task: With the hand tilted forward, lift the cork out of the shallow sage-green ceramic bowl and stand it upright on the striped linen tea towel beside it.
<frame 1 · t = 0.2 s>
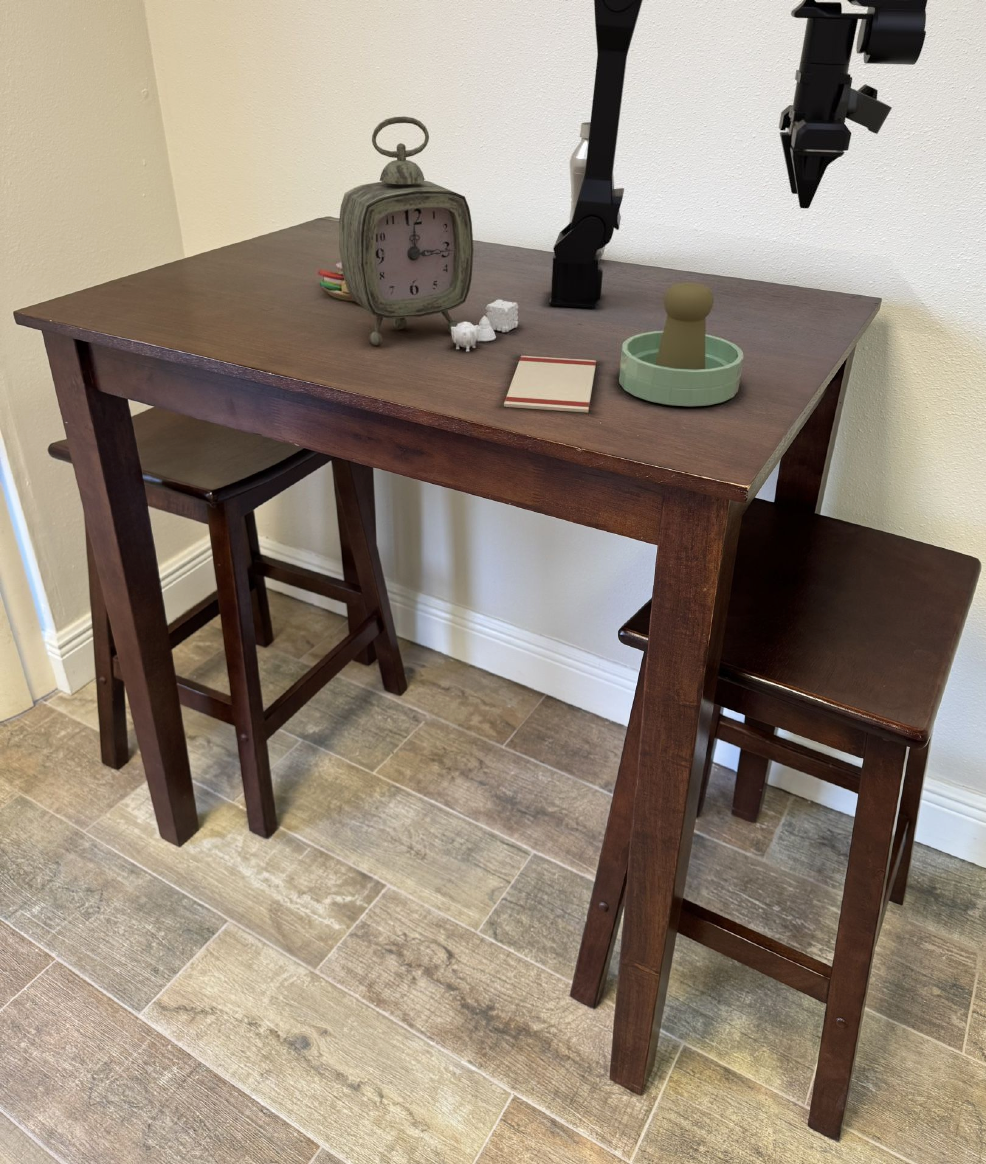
hand: (799, 200, 121), 15 cm above the table, tool pointing down, fingers open, 9 cm apart
metal bottle: (584, 262, 151), on the table
bowl: (677, 385, 106), on the table
cork: (677, 384, 106), resting on bowl
tabletop clock: (406, 334, 120), on the table
towel: (552, 383, 106), on the table
game pieces: (484, 339, 119), on the table
toy food set: (365, 292, 135), on the table
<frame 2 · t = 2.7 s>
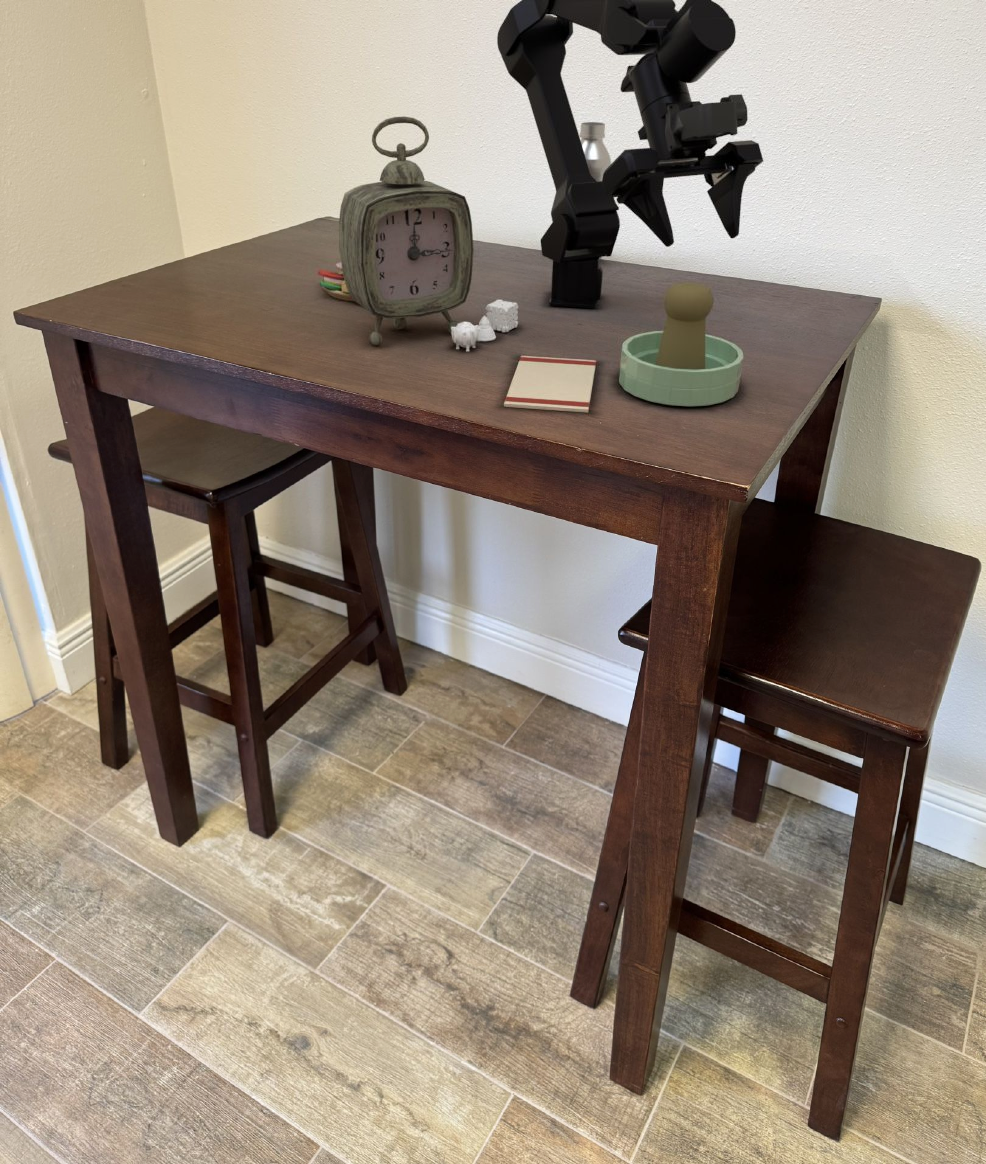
hand: (703, 240, 106), 14 cm above the table, tool tilted 35°, fingers open, 9 cm apart
nothing on the table moved.
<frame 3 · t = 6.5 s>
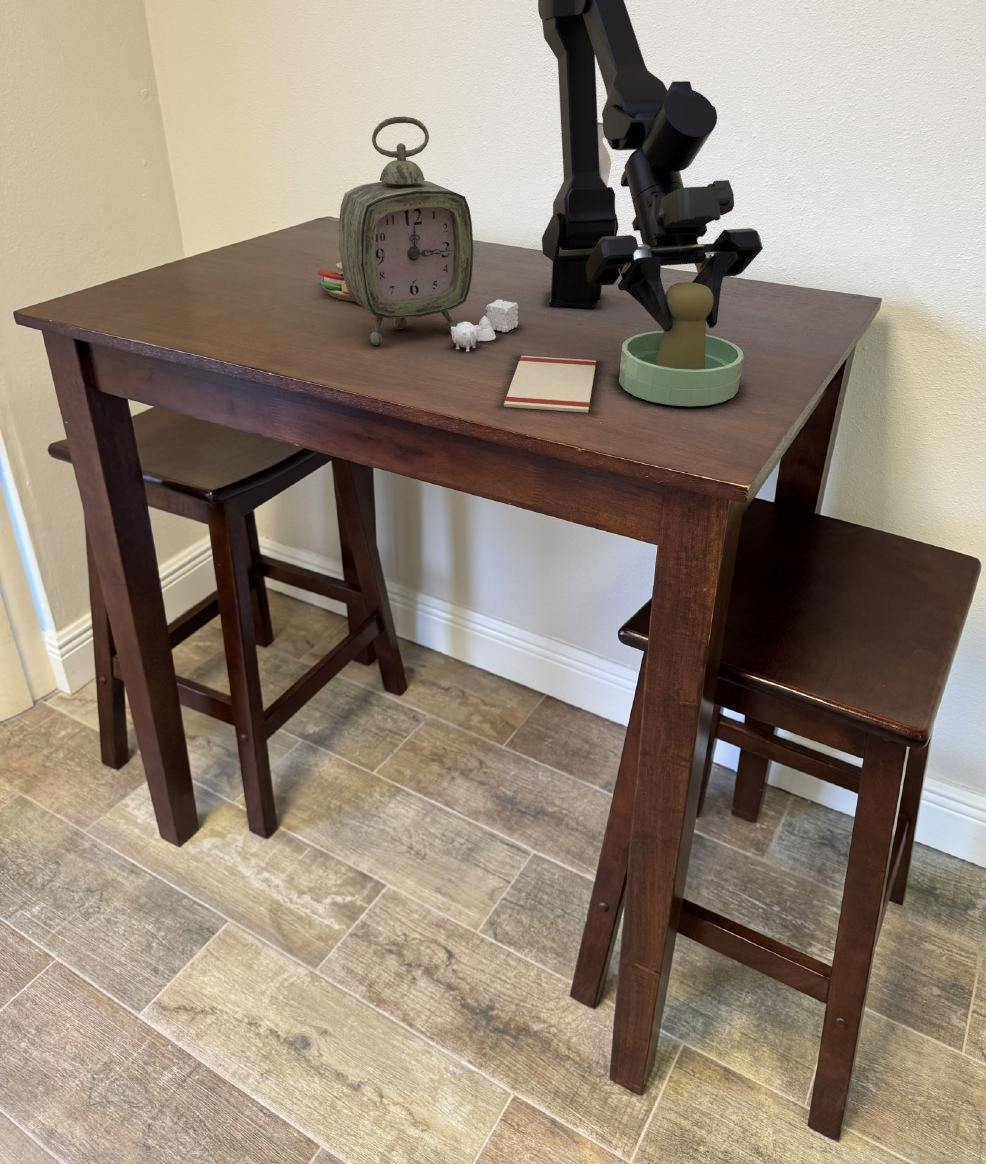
hand: (691, 328, 101), 7 cm above the table, tool tilted 45°, fingers closed on cork, 5 cm apart
cork: (677, 384, 106), resting on bowl, touching gripper
everything else where it was.
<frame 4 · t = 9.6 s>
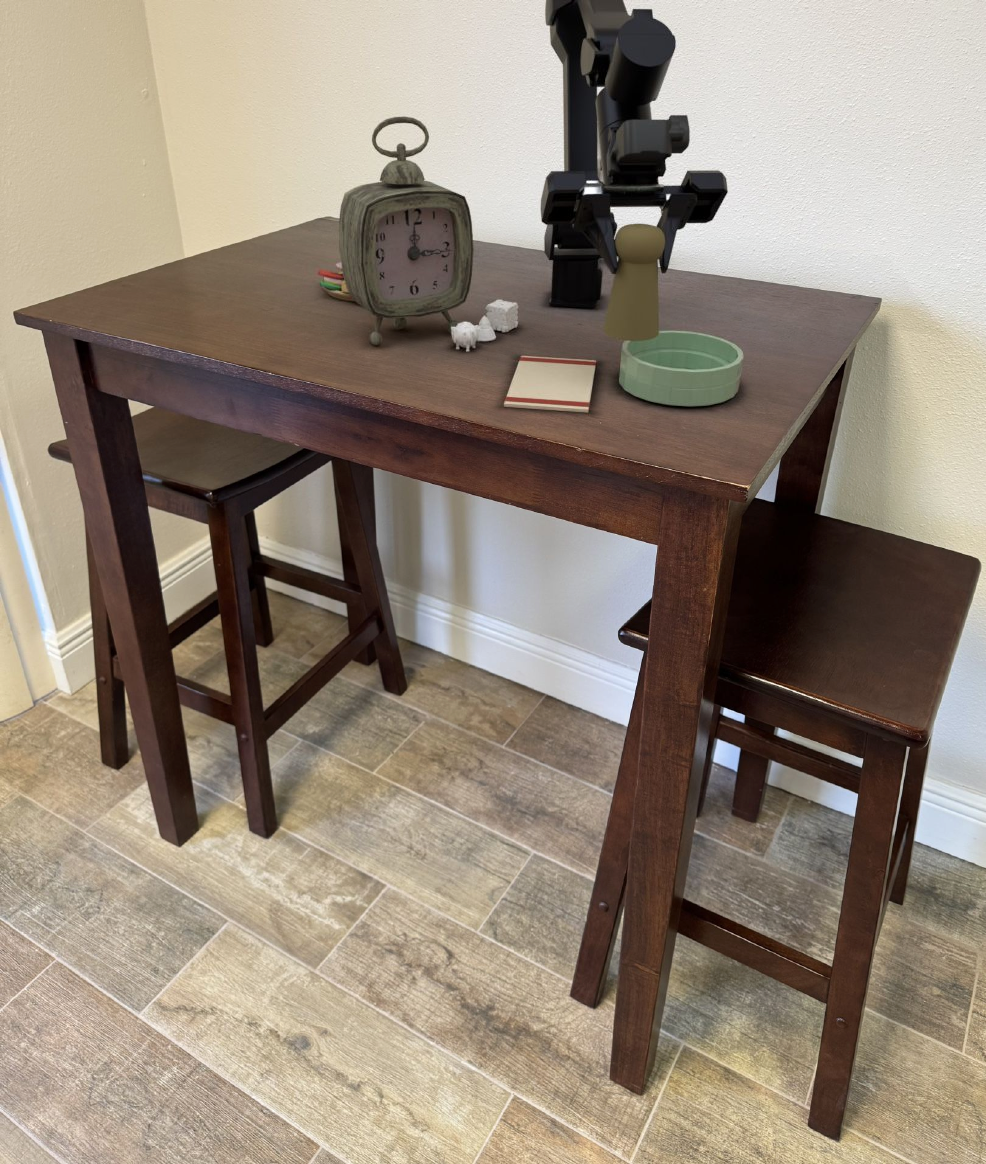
hand: (639, 271, 97), 13 cm above the table, tool tilted 45°, fingers closed on cork, 5 cm apart
cork: (630, 333, 102), point 6 cm above the table, touching gripper
everything else where it was.
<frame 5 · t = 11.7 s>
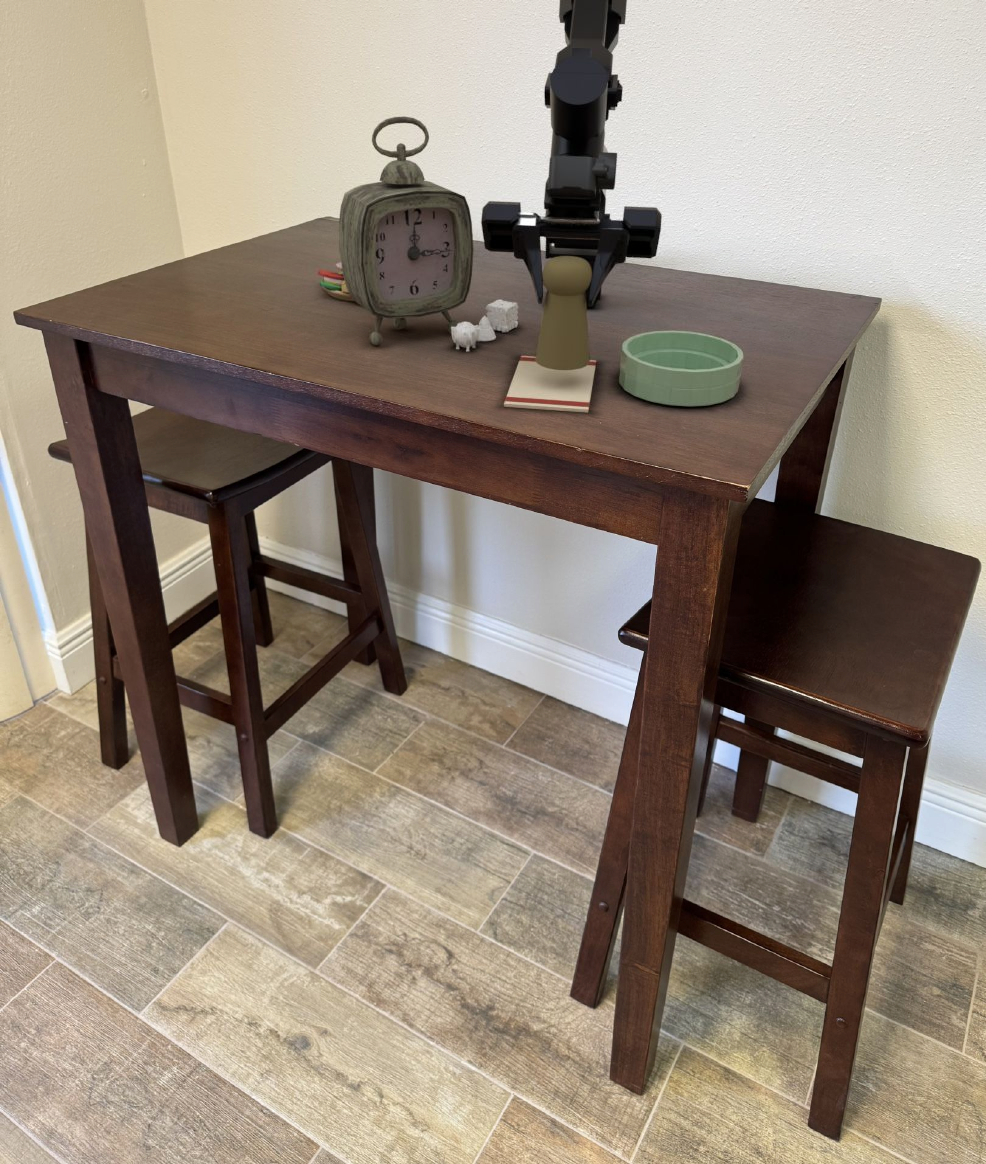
hand: (564, 302, 98), 10 cm above the table, tool tilted 45°, fingers closed on cork, 5 cm apart
cork: (562, 361, 103), point 3 cm above the table, touching gripper
everything else where it was.
when the fingers open (7 cm above the table, at t = 12.9 s): cork stays where it is, resting on towel.
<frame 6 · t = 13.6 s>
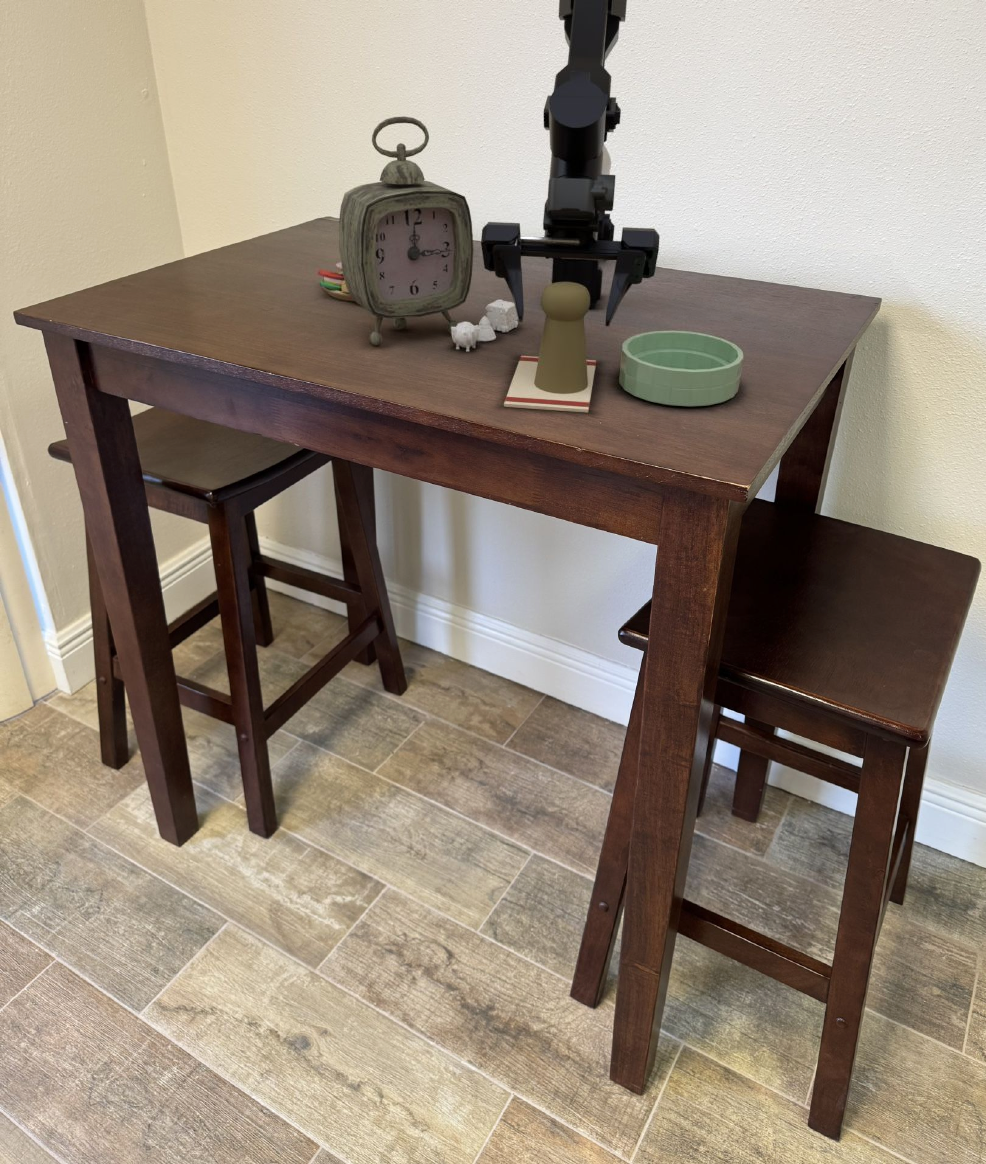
hand: (563, 322, 99), 8 cm above the table, tool tilted 45°, fingers open, 9 cm apart
cork: (560, 385, 105), resting on towel
everything else where it was.
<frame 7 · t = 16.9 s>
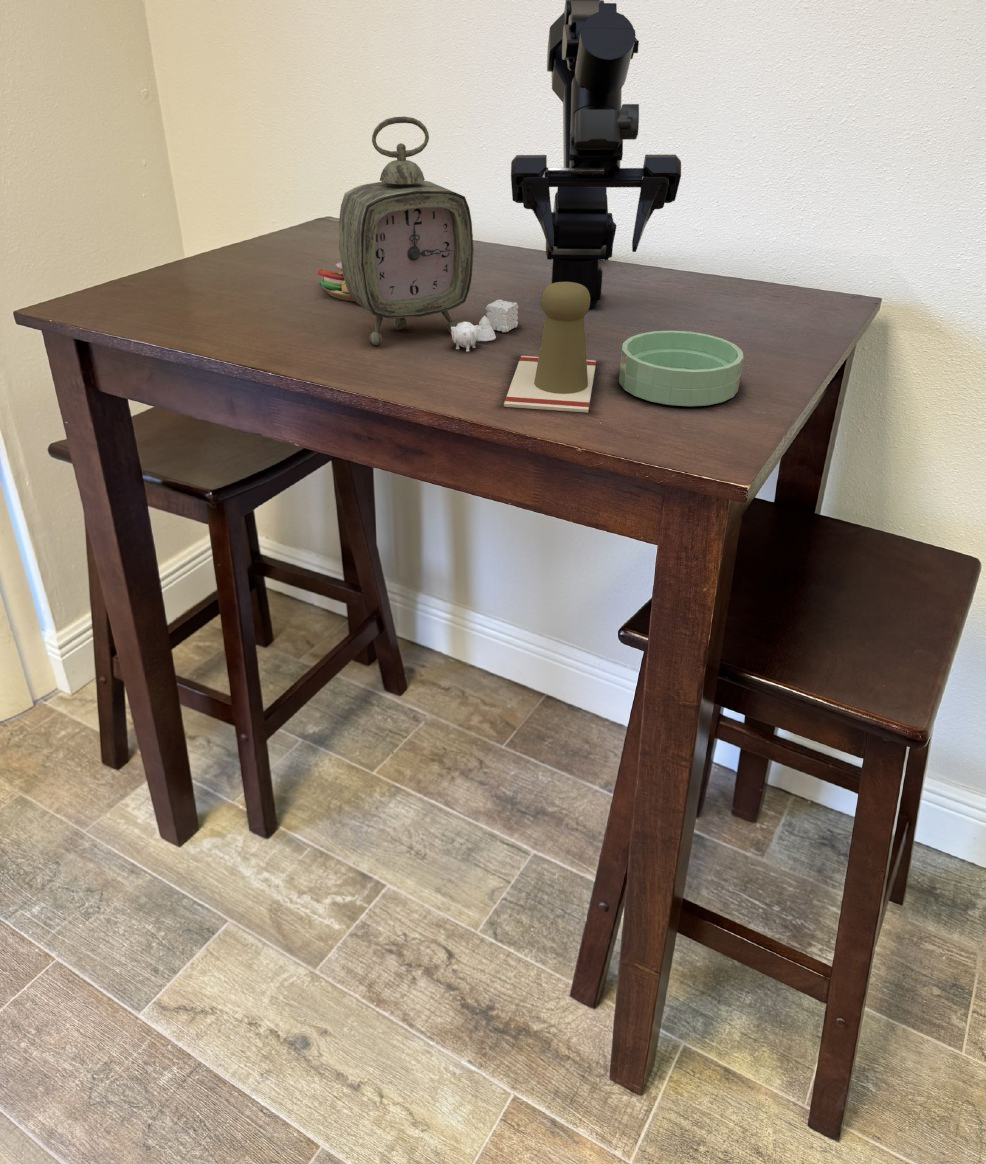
hand: (593, 249, 105), 13 cm above the table, tool tilted 40°, fingers open, 9 cm apart
nothing on the table moved.
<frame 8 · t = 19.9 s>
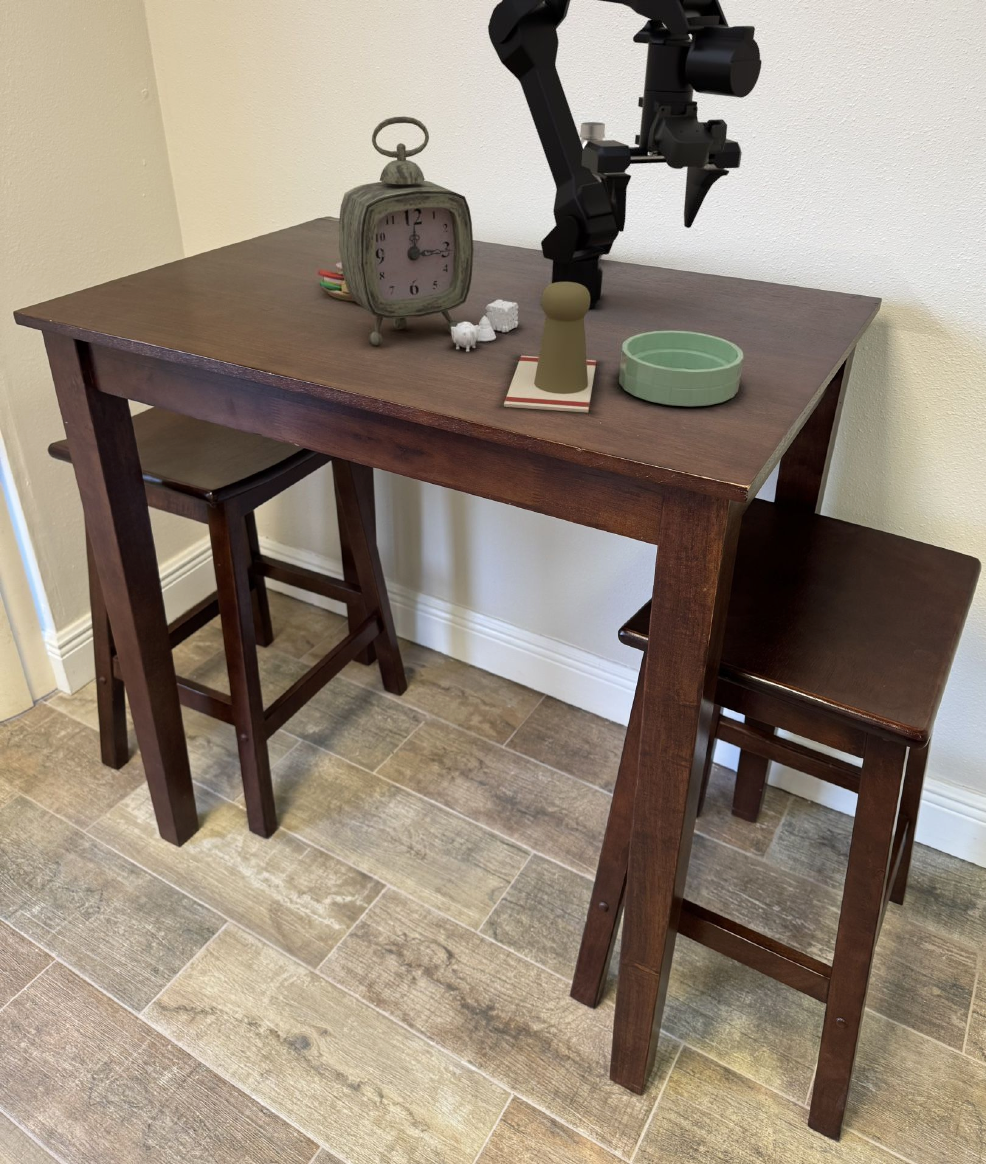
hand: (654, 228, 118), 12 cm above the table, tool pointing down, fingers open, 9 cm apart
nothing on the table moved.
at the end: cork inside the target area on the towel (1.2 cm from its centre), point 0.2 cm above the towel's base; cork tilted 0°; the gripper is holding nothing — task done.
